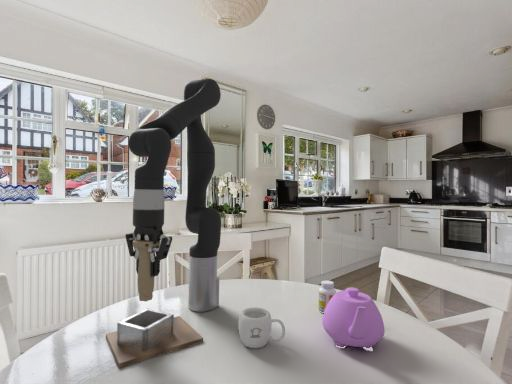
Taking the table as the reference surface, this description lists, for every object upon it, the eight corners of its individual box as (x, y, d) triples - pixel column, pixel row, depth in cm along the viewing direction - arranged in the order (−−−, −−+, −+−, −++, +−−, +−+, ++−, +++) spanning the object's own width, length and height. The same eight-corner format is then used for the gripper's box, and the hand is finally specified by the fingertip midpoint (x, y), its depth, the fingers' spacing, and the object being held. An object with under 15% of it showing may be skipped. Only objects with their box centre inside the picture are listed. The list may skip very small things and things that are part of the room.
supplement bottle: (335, 309, 98) (336, 280, 98) (335, 316, 93) (336, 285, 93) (318, 307, 100) (319, 279, 100) (318, 314, 94) (318, 283, 94)
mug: (236, 351, 71) (236, 319, 71) (239, 334, 80) (240, 305, 80) (285, 353, 71) (286, 321, 71) (284, 336, 79) (284, 307, 79)
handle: (159, 301, 73) (160, 241, 73) (131, 304, 71) (132, 242, 71) (158, 295, 78) (159, 238, 78) (132, 298, 75) (132, 239, 75)
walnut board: (179, 319, 88) (179, 315, 88) (203, 341, 76) (203, 337, 76) (105, 337, 77) (105, 333, 77) (118, 368, 64) (118, 363, 64)
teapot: (398, 371, 65) (399, 308, 65) (325, 363, 67) (326, 303, 67) (373, 326, 86) (374, 279, 86) (319, 321, 89) (320, 276, 89)
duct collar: (147, 326, 81) (147, 308, 81) (173, 333, 78) (173, 314, 78) (117, 343, 72) (117, 322, 72) (144, 351, 69) (145, 330, 69)
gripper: (180, 207, 76) (179, 274, 76) (139, 205, 81) (138, 268, 81) (160, 209, 69) (159, 282, 69) (116, 206, 74) (115, 274, 74)
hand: (147, 274), depth 75 cm, fingers closed on handle, 4 cm apart
